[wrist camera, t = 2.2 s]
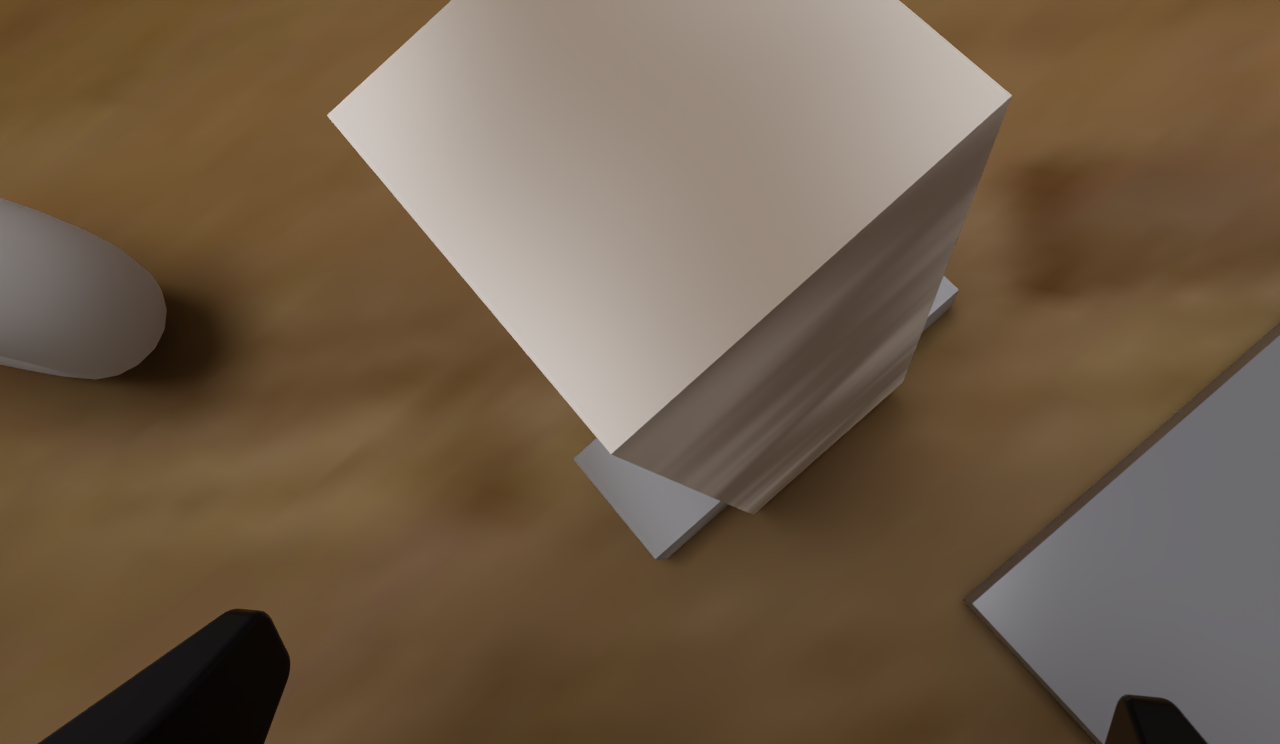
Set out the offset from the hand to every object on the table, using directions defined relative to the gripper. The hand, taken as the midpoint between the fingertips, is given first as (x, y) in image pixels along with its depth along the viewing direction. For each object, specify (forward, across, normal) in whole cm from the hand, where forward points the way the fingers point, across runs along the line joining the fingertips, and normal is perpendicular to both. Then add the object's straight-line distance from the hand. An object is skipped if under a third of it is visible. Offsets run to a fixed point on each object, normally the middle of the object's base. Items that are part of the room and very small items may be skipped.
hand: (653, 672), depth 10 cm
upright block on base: (+12, 0, +5) cm, 13 cm away
